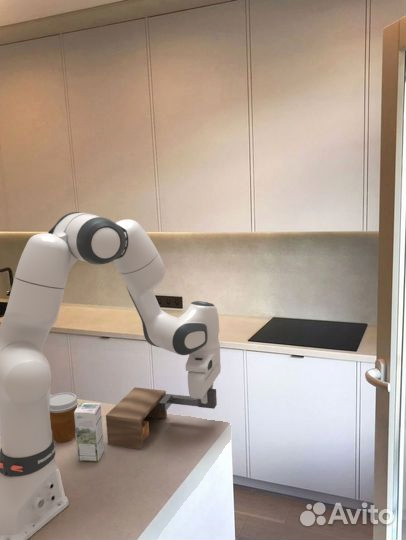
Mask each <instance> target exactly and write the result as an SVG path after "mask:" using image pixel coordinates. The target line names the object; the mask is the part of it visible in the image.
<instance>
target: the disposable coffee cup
mask: <svg viewBox="0 0 406 540" xmlns="http://www.w3.org/2000/svg"><path fill="white" fill-rule="evenodd" d="M78 406H79V398H78V397H77V395H76V394H75V393H73V392H60V393H58V392H57V393H55V394H53V395H50V422H51V432H52V437H53V438H54V442H56V443H66V442H69V441H72V440H73V439H74V438H76V428H75V417H74V412H75V410H76V408H77V407H78Z"/></svg>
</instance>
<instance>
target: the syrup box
mask: <svg viewBox="0 0 406 540" xmlns="http://www.w3.org/2000/svg"><path fill="white" fill-rule="evenodd" d="M74 417H75V428H76V436H75V439H76V447H77V460H78V462H99V461H100V460H101V457H102V455H103V454H104V452H105V446H104V445H105V443H104V431H103V416H102V405H101V403H100V402H99V403H97V402H81V403H79V404H78V405H77V408H76V410H75V412H74Z"/></svg>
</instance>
